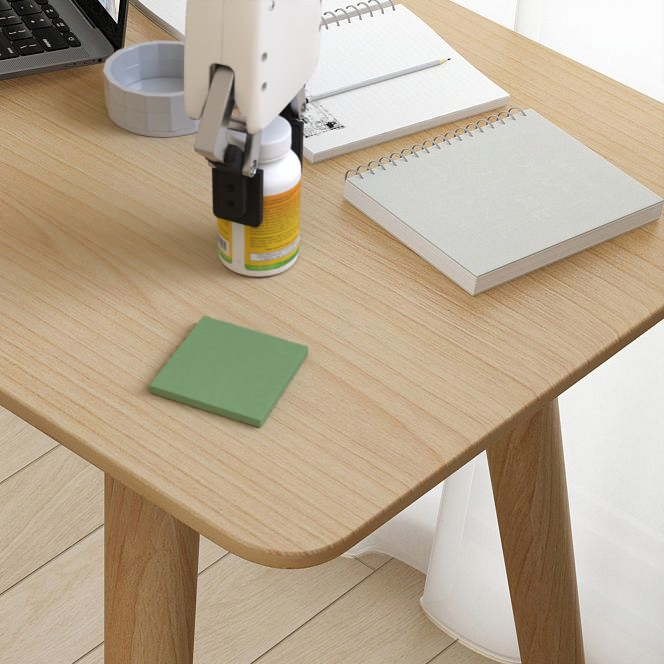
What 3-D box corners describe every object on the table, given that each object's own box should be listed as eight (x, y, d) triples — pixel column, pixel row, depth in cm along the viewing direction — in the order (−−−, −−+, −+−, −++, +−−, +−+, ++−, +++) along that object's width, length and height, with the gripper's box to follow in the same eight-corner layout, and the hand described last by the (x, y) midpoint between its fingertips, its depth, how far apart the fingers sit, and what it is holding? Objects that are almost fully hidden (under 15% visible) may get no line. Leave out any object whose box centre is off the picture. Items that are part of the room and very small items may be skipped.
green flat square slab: (149, 392, 69) (148, 385, 69) (203, 322, 74) (203, 315, 74) (260, 428, 67) (260, 420, 67) (308, 353, 72) (308, 346, 72)
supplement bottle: (313, 246, 81) (318, 119, 74) (273, 289, 77) (276, 158, 71) (244, 222, 82) (243, 97, 76) (202, 263, 79) (198, 134, 72)
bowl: (85, 120, 92) (81, 79, 90) (142, 71, 98) (139, 31, 96) (190, 148, 90) (189, 106, 87) (241, 95, 96) (241, 55, 94)
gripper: (262, -143, 72) (260, 121, 84) (120, -42, 60) (141, 252, 71) (378, -122, 70) (360, 146, 82) (258, -13, 58) (256, 285, 69)
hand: (258, 193), depth 77 cm, fingers closed on supplement bottle, 5 cm apart
